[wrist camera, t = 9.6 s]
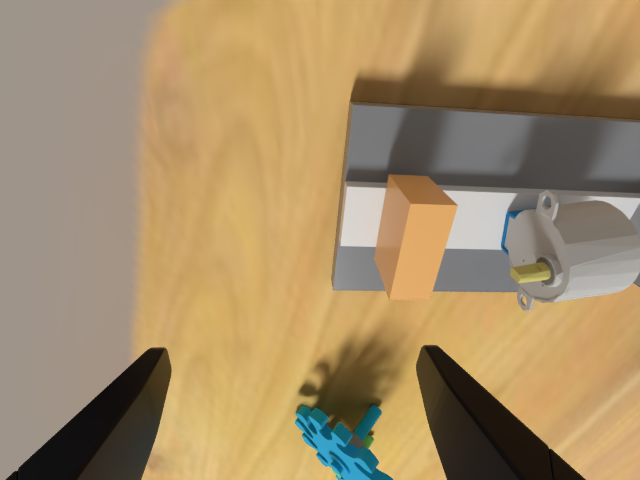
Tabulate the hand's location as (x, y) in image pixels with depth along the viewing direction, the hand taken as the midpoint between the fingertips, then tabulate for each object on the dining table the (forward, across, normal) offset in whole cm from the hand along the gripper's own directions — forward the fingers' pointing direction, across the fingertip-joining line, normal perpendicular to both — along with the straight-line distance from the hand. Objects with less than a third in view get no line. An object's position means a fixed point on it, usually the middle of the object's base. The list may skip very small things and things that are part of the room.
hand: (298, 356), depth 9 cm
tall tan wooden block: (+9, -5, 0) cm, 11 cm away
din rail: (+11, -12, 0) cm, 16 cm away
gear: (+11, -5, +21) cm, 24 cm away
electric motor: (+9, -12, 0) cm, 16 cm away
